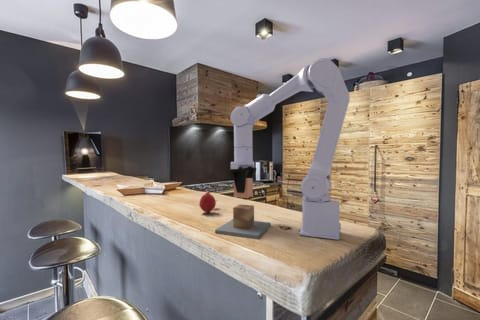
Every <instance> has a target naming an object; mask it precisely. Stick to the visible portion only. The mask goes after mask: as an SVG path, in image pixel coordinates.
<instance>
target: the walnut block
mask: <svg viewBox="0 0 480 320" xmlns="http://www.w3.org/2000/svg"><path fill="white" fill-rule="evenodd" d="M232 215H233V217H232V219H233V227H234V228H242V229H250V228H251V227H252V226H253V225H254V221H255V205H253V204H252V205H250V204H238V205H236V206H233V208H232Z"/></svg>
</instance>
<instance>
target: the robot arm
mask: <svg viewBox="0 0 480 320" xmlns="http://www.w3.org/2000/svg"><path fill="white" fill-rule="evenodd" d="M340 70H341V69H339V66H337V65H336V63H334V62H333V61H332V60H331V59H329V58H326V57H320V58H318V59H315V60H314V61H313V62H312V63H311V64H308V65H306V66H304V67H303V68H302V69H301V70H300V71H299V72H298V73H297V74H296V75H295V76H293V77H292V78H290V79H289V80H288V81H286V82H285V83H283V84H282V85H281V86H279V87H278V88H276V89H275V90H274V91H273V92H271V93H270V94H267V93H261V94H259V93H258V95H256V98H255V99H253V100H251V102H249V103H245V104H244V105H243V106H236V107H235V108H234V109H233V110H232V111H231V113H230V121H231V123H232V125H233V147H234V148H233V150H234V151H233V155H234V156H233V158H234V159H233V160H234V161H231V162H230V168H229V173H230V175H231V177H232V179H233V184H234V183H235V186H236V191H237V193H244V191H245V183H246V178H254V177H255V173H256V171H257V168H256V167H255V161H254V160H253V158H254V157H253V156H254V154H253V151H254V150H253V147H254V145H253V127H254V125H255V124H256V122H258V121H259V120H261V119H262V118H264V117H266V116H267V115H269V114H271V113H272V112H274V110H275V107H276V105H277V104H279V103H281V102H283V101H284V100H287V99H288V98H290V97H292V96H294V95H296V94H297V93H300V92H309V93H314V89H315V90H316V91H317V92H318V93H319V94H321V95H323V96H324V98H326V100H327V101H328V102H327V106H326V110H325V114H324V118H323V121H322V123H321V124H322V125H321V128H320V132H319V135H318V140H317V143H316V144H317V145H316V148H315V150H314V155H313V159H312V161H311V164H310V166H309V167H308V170H307V171H308V172H307V174H306V176H305V177H304V178H303V179H302V180H301V182H300V191H301V193H302V195H303V196H302V198H301V199H302V201H301V206H302V209H301V211H302V214H301V215H302V218H301V219H302V220H301V221H302V226H301V228H300V231H299V233H298V235H299V236H306V237H313V238H322V239H329V240H331V239H332V240H340V231H341V229H342V228H341V227H342V225H341V224H342V223H341V222H340V201H339V200H333V199H332V197H331V196H330V195H329V192H330V191H331V190H330V189H331V188H332V187H331V186H332V183H331V177H330V176H331V173H332V167H333V166H332V165H333V161H334V159H335V154H336V152H337V148H338V143H339V141H340V140H339V139H340V137H341V134H342V133H341V132H342V129H343V127H344V126H343V125H344V122H345V120H346V115H347V112H348V107H349V104H350V101H351V99H350V98H351V97H350V93H349V90H348V87H347V86H346V83H345V80H344V79H343V76H342V73H341V71H340Z"/></svg>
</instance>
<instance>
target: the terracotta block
mask: <svg viewBox="0 0 480 320" xmlns="http://www.w3.org/2000/svg"><path fill="white" fill-rule="evenodd" d="M253 178H254V177H253ZM253 178H246V183H245V191H244V193H237V191H236V186H235V183H234V182H233V197H234V198H245V199H249V198H251V197H252V196H254V191H253V190H254V189H253V188H254V187H253V186H254V184H253V182H254V181H253Z"/></svg>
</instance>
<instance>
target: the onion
mask: <svg viewBox="0 0 480 320" xmlns="http://www.w3.org/2000/svg"><path fill="white" fill-rule="evenodd" d="M216 204H217V202H216V198H215V197H214V196H213V195H212V194H211V192H210V191H209V190H207V191H206V192H205V193H204V194H203V195H202V196H201V198H200V200H199V207H200V210H202V211H203V212H205V213H206V214H210V213H211V212H212V211H213V210H214V209H215V208H216Z"/></svg>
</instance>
